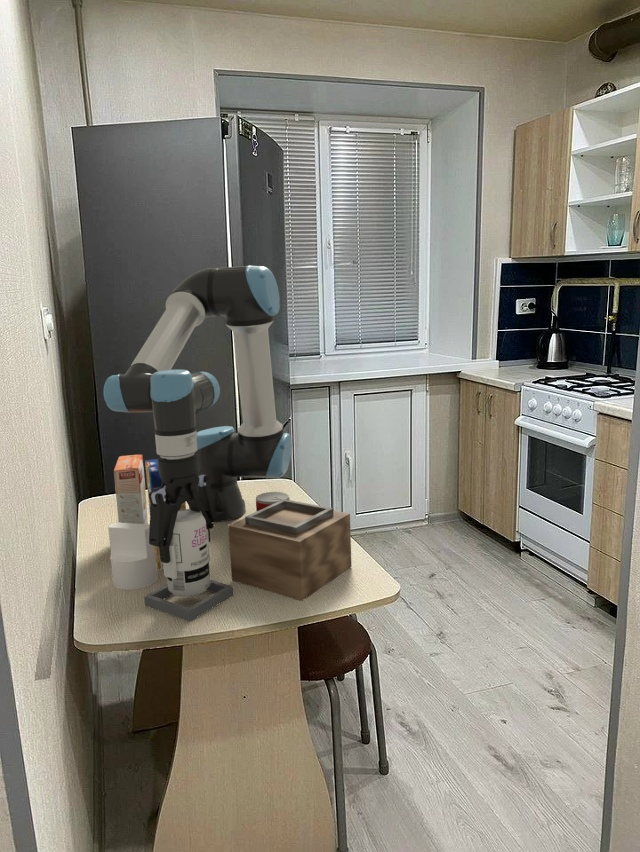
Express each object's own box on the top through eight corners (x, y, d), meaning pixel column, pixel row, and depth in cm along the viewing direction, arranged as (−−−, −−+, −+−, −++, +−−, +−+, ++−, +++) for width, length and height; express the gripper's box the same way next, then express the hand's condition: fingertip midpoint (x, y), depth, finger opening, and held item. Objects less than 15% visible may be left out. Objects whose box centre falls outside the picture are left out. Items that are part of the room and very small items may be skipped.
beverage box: (183, 547, 155) (175, 456, 150) (190, 564, 145) (182, 468, 140) (153, 552, 152) (144, 460, 148) (159, 569, 142) (150, 472, 138)
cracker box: (148, 555, 150) (139, 467, 146) (121, 558, 149) (111, 470, 145) (150, 534, 164) (143, 453, 160) (125, 536, 163) (117, 455, 159)
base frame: (190, 582, 136) (189, 573, 135) (233, 595, 129) (233, 586, 129) (145, 605, 126) (144, 596, 126) (189, 621, 119) (188, 611, 119)
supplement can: (171, 580, 131) (164, 509, 128) (212, 577, 132) (207, 506, 128) (165, 599, 123) (157, 524, 120) (209, 596, 124) (203, 521, 120)
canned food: (287, 547, 152) (284, 502, 150) (254, 545, 154) (251, 501, 152) (294, 535, 160) (292, 492, 157) (263, 533, 161) (260, 491, 159)
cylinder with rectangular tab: (104, 587, 135) (98, 532, 132) (128, 569, 143) (122, 517, 141) (143, 591, 132) (138, 535, 130) (165, 572, 141) (160, 519, 138)
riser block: (284, 550, 150) (281, 494, 147) (351, 566, 140) (349, 506, 137) (231, 580, 136) (227, 518, 133) (302, 600, 126) (299, 534, 123)
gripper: (147, 471, 111) (160, 594, 116) (231, 443, 128) (238, 552, 133) (118, 465, 115) (131, 585, 120) (203, 439, 132) (211, 545, 137)
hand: (187, 567), depth 126 cm, fingers closed on supplement can, 8 cm apart
